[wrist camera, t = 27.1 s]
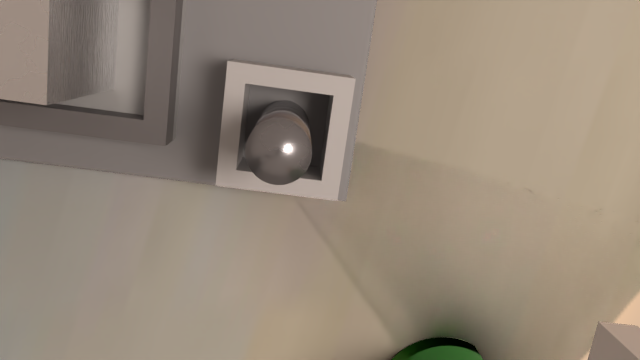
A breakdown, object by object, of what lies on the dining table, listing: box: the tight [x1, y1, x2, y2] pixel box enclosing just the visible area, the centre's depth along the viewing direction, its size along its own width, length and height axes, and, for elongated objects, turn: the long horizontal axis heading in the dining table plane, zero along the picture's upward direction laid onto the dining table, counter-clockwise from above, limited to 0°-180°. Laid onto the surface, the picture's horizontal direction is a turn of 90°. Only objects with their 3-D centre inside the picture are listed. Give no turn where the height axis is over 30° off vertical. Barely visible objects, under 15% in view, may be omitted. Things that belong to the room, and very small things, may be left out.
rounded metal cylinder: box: [245, 100, 312, 185], centre depth 34 cm, size 4×4×10 cm
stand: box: [0, 0, 377, 201], centre depth 36 cm, size 28×18×6 cm, turn 82°
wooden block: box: [0, 0, 119, 105], centre depth 31 cm, size 5×6×10 cm
